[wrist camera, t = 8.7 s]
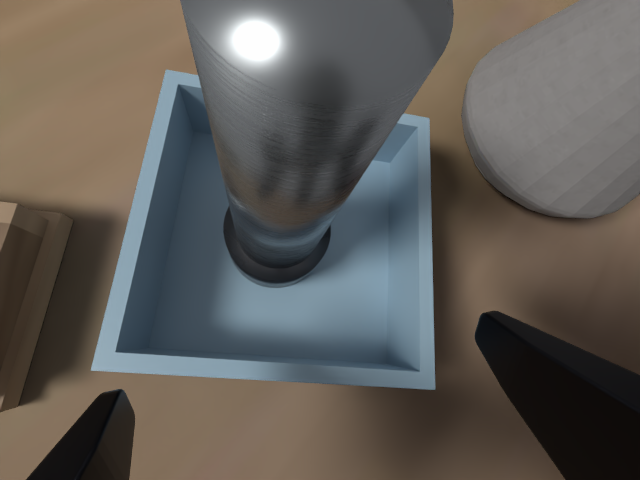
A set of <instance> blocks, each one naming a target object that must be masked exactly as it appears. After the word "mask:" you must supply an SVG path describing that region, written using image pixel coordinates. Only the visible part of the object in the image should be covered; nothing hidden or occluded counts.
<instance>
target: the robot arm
mask: <svg viewBox="0 0 640 480" xmlns="http://www.w3.org/2000/svg"><path fill="white" fill-rule="evenodd" d="M475 341H476V343H477V345H478V347H479V349H480V350H481V352H482V354H483V356H484V357H485V359H486V361H487V363H488V364H489V366H490V368H491V370H492V371H493V373H494V375H495V377H496V378H497V380H498V382H499V384H500V385H501V387H502V389H503V390H504V392H505V393H506V395H507V397H508V398H509V400H510V401H511V403H512V404H513V405H514V407H515V408H516V410H517V411H518V413H519V414H520V415H521V417H522V418H523V420H524V421H525V423H526V424H527V425H528V427H529V428H530V430H531V431H532V433H533V434H534V435H535V437H536V438H537V440H538V441H539V442H540V444H541V445H542V447H543V448H544V450H545V451H546V452H547V454H548V455H549V457H550V458H551V460H552V461H553V462H554V464H555V465H556V467H557V468H558V470H559V471H560V472H561V474H562V475H563V477H564V478H565V480H640V375H638V374H636V373H634V372H632V371H629V370H627V369H625V368H623V367H621V366H618V365H616V364H614V363H612V362H609V361H607V360H605V359H603V358H601V357H598V356H596V355H594V354H592V353H590V352H587V351H585V350H583V349H581V348H578V347H576V346H574V345H572V344H570V343H567V342H565V341H563V340H561V339H559V338H556V337H554V336H552V335H550V334H547V333H545V332H543V331H541V330H539V329H536V328H534V327H532V326H530V325H528V324H525V323H523V322H521V321H519V320H516V319H514V318H512V317H510V316H508V315H505V314H503V313H501V312H499V311H490V312H485V313H482V314H481V316H480V318H479V321H478V325H477V328H476V332H475ZM134 427H135V414H134V411H133V408H132V406H131V404H130V402H129V400H128V397H127V395H126V393H125V392H124V390H122V389H117V390H113V391H108V392H104V393H102V394H100V395H99V396H98V397H97V398H96V399H95V400H94V401H93V403H92V404H91V405H90V406H89V407H88V408H87V410H86V411H85V412H84V413H83V414H82V415H81V417H80V418H79V419H78V420H77V421H76V422H75V423H74V425H73V426H72V427H71V428H70V429H69V430H68V432H67V433H66V434H65V435H64V436H63V437H62V439H61V440H60V441H59V442H58V443H57V444H56V445H55V447H54V448H53V449H52V450H51V451H50V452H49V454H48V455H47V456H46V457H45V458H44V459H43V461H42V462H41V463H40V464H39V465H38V466H37V467H36V469H35V470H34V471H33V472H32V473H31V474H30V476H29V477H28V478H27V479H26V480H129V476H130V466H131V457H132V447H133V437H134Z"/></svg>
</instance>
